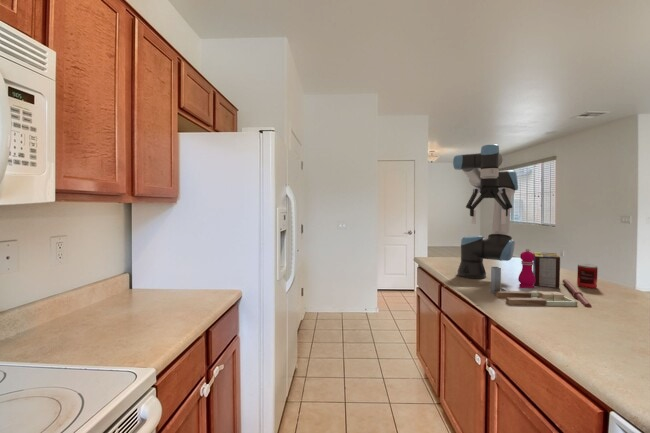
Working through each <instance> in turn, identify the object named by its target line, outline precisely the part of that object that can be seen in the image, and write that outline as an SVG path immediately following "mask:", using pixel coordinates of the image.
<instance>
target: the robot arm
mask: <svg viewBox="0 0 650 433" xmlns="http://www.w3.org/2000/svg"><path fill="white" fill-rule="evenodd" d="M502 164H503V157H502V155H501V153H500V146H499V144H491V143H490V144H484V145H482V146H481V148H480V152H479V153H471V154H470V153H467V154H457V155H455V156H454V157H453V159H452V166H453V168H454V170H456V171H457V170H462V172H463V173H464V174H465V175H466V177H467V178H468V181H469V183H470V185H471V186H473V187H475V188H473V189H472V193H471V196H470V197H469V199H468V201H467V203H466V206H465V208H466V209H468V210H469V216H470V217H471V224H474V225H475V224H476V223H477V218H476V217H477V210H476V208H477V207H478V205H479V204H480V203H481V202H482V201H483V200H484V199H493V200H494V202H493V210H492V212H493V213H492V223H491V232H490V233H489V234H488V235H487V236H488V237H487V238H484V235H469V236H464V237H462V238H461V240H460V263H459V266H458V269H457V275H458V276H460V277H461V278H468V279H485V278H487V272H486V269H485V266H484V261H483V260H490V261H491V260H493V261H501V262H502V261H506V262H508V261H510V260H511V259H512V257H513V255H514V250H515V246H516V245H515V244H516V243H515V240H514V239H513V237H512V236H511V235H510V224H511V223H510V221H511V211H512V208H513V205H512V196H513V195H514V194H515V193H516V191H518V190H519V183H518V176H517V172H516V171H515V170H508V169H506V170H500V169H499V167H500V166H502ZM479 193H480V195H479V196H478V194H479ZM477 196H478V197H477ZM476 198H477V199H476Z"/></svg>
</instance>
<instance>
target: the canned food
mask: <svg viewBox="0 0 650 433" xmlns="http://www.w3.org/2000/svg"><path fill="white" fill-rule="evenodd" d="M598 270H599V267H598V265H596V264H591V263H578V264H577V274H576V276H577V278H576V279H577V280H576V282H577V286H578V287H580V288H582V287H583V288H584V289H589V290H594V289H596V288H598V272H599V271H598ZM583 288H582V289H583Z"/></svg>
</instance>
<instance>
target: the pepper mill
mask: <svg viewBox="0 0 650 433" xmlns="http://www.w3.org/2000/svg"><path fill="white" fill-rule="evenodd" d="M519 257H520V260H521V262H520V263H521V266H522V267H521V271H520V272H519V275H518V279H517V280H518V282H519V285H518V287H519V288H520V289H521V288H522V289H534V288H535V285H534V283H535V282H536V279H535V276H534V274H533V260H534V259H535V256H534V252H531V249H530V248H525V251H522V252H521V253H520V256H519Z"/></svg>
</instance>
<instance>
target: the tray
mask: <svg viewBox="0 0 650 433" xmlns="http://www.w3.org/2000/svg"><path fill="white" fill-rule="evenodd" d="M529 292H530V293H531V297H537V292H538V291H529ZM546 306H547V307H548V306H549V307H550V306H551V307H552V306H553V307H554V306H555V307H557V306H558V307H578V301H576V300H574V299H572V298H569V297H567V296H564V301H546Z"/></svg>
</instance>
